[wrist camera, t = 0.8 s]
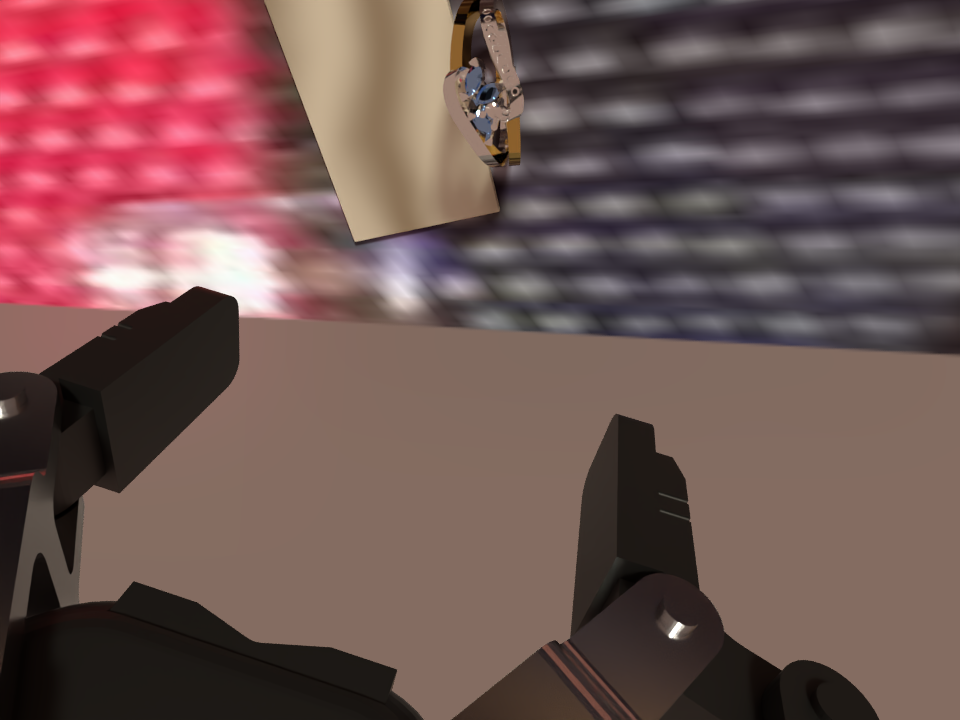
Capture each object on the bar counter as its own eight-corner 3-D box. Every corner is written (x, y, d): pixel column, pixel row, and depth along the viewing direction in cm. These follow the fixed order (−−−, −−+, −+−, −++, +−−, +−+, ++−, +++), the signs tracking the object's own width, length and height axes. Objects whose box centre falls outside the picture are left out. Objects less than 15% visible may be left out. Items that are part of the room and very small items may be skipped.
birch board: (433, -66, 27) (430, -66, 26) (500, 209, 33) (499, 211, 33) (265, -6, 29) (262, -6, 29) (357, 239, 35) (354, 241, 35)
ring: (543, 146, 31) (526, 187, 24) (483, 150, 31) (450, 190, 25) (536, -11, 27) (514, -13, 21) (469, -2, 28) (426, -3, 21)
